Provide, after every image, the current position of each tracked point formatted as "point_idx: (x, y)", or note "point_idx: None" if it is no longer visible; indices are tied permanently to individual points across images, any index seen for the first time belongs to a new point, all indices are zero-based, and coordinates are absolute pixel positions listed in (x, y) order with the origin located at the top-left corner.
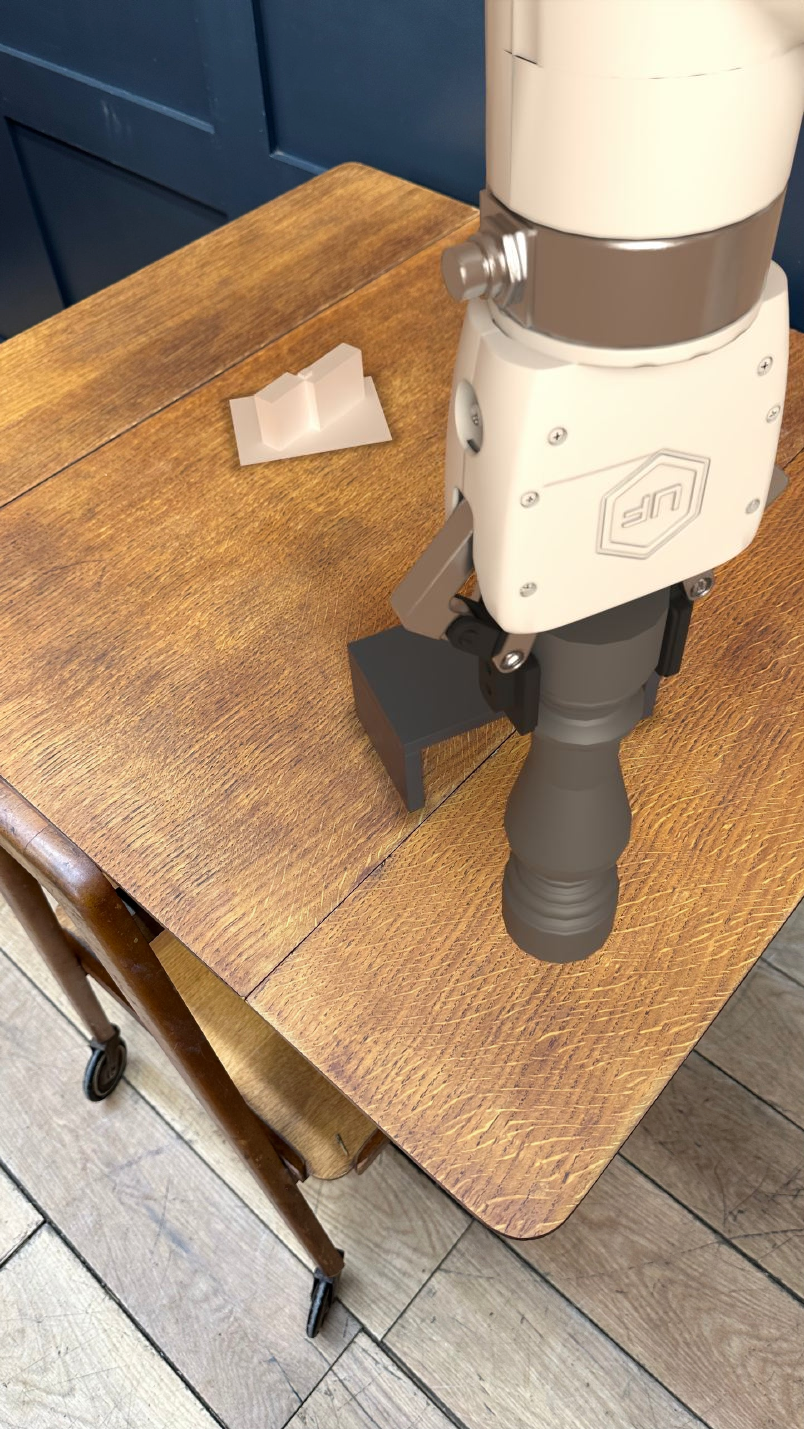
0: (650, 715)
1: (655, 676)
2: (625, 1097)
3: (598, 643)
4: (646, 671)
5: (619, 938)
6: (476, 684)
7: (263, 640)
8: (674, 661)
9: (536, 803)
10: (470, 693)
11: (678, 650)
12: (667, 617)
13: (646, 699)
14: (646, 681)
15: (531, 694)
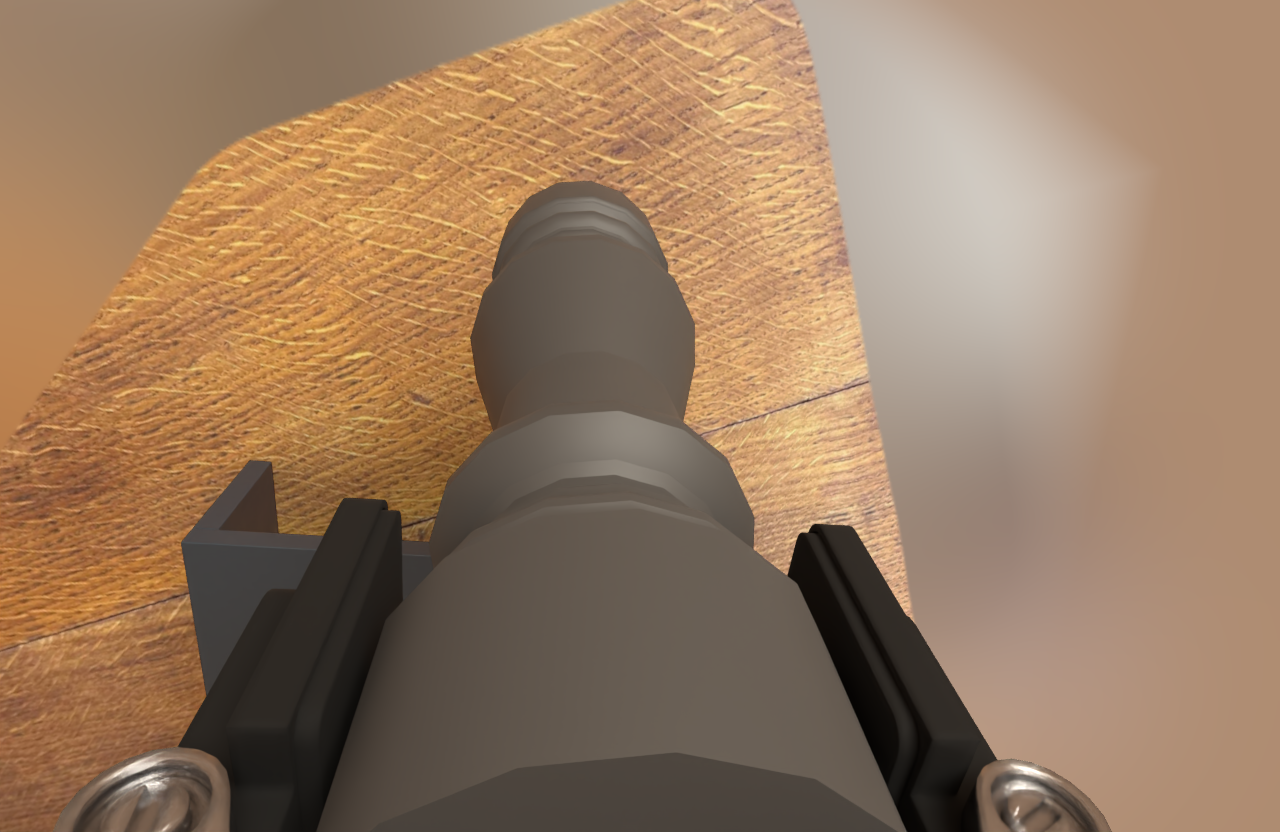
0: (252, 461)
1: (221, 506)
2: (580, 38)
3: (812, 787)
4: (532, 554)
5: (466, 220)
6: None
7: None
8: (355, 537)
9: (683, 387)
10: None
11: (332, 567)
12: (335, 710)
13: (248, 482)
14: (238, 505)
15: (897, 640)
